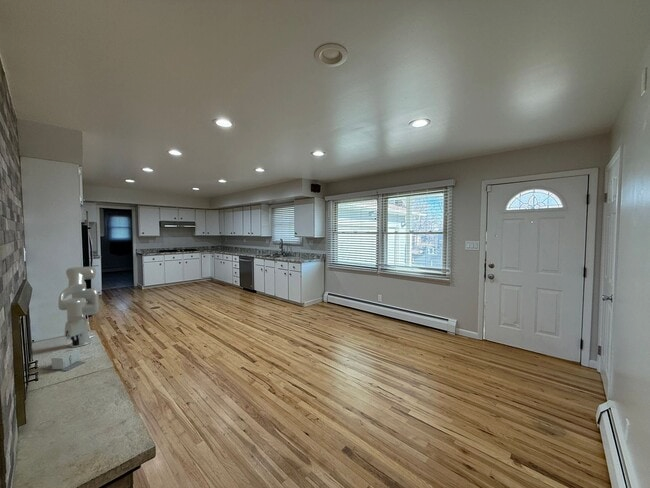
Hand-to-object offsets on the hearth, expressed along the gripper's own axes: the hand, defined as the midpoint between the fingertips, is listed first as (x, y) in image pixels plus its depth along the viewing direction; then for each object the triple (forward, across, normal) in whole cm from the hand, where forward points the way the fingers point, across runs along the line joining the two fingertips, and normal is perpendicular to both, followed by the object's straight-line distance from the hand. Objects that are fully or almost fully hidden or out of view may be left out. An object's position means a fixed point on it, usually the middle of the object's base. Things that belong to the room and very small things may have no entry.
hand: (75, 345), depth 187 cm
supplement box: (+6, +1, 0) cm, 6 cm away
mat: (+10, +8, +1) cm, 13 cm away
